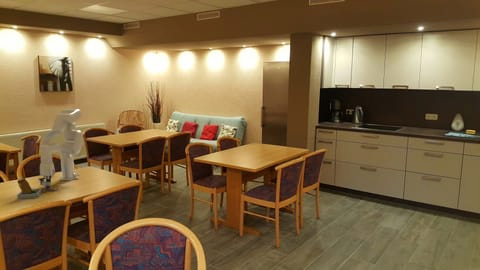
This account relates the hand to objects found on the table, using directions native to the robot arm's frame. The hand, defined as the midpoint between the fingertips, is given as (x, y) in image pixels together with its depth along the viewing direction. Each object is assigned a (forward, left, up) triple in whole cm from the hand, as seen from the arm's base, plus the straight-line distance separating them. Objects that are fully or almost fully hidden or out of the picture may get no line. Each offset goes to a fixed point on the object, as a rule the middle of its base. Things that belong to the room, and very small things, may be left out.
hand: (48, 183), depth 274 cm
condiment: (+9, +16, -2) cm, 18 cm away
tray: (+9, +16, -4) cm, 19 cm away
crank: (+2, +2, -1) cm, 3 cm away
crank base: (+3, +6, -4) cm, 7 cm away
